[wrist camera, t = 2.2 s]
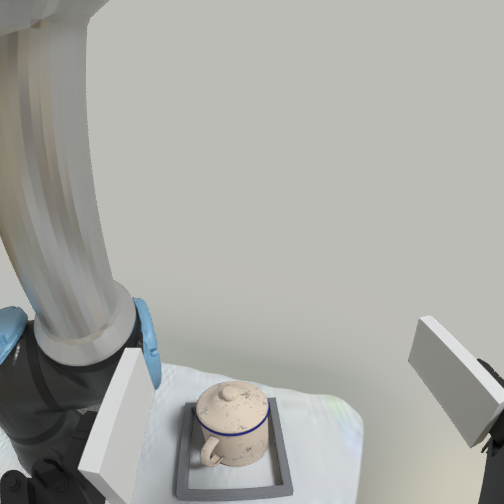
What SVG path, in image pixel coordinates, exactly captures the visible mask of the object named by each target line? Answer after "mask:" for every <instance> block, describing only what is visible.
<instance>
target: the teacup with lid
mask: <svg viewBox="0 0 504 504" xmlns="http://www.w3.org/2000/svg"><path fill="white" fill-rule="evenodd" d="M195 411H196V417H197V419H198V421H199V423H200V424H201V427H202V431H203V434H204V438H205V441H206V443H205V444H204V446H203V447H202V450H201V453H200V460H201V462H202V464H204V465H206V466H208V467H214V466H216V465H218V464H219V463H223V464H225V465H229V466H245V465H249V464H251V463H254V462H255V461H257V460H258V459H260V458H261V457H262V456H263V455H264V453H265V452H266V450H267V448H268V414H269V402H268V399H267V398H266V396H265V394H264V393H263V392H262V391H261V390H260V389H258V388H257V387H255V386H254V385H251V384H249V383H245V382H239V381H229V382H223V383H219V384H216V385H214V386H212V387H210V388H208V389H207V390H206V391H205V392H204V393H203V394H202V395H201V396H200V397H199V399H198V401H197V404H196V410H195ZM211 455H212V458H211V459H210V456H211Z"/></svg>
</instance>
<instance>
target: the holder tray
mask: <svg viewBox="0 0 504 504" xmlns="http://www.w3.org/2000/svg"><path fill="white" fill-rule="evenodd" d="M267 399H268V402H269V410H270V414H271V420H272V426H273V432H274V438H275V444H276V450H277V455H278V461H279V467H280V473H281V479H282V485H278V486H269V487H259V488H246V489H224V490H193V489H188V477H189V462H190V449H191V436H192V424H193V414H196V411H195V410H196V404H197V403H185V411H184V420H183V428H182V437H181V446H180V456H179V466H178V476H177V488H176V496H177V498H178V499H179V500H184V501H238V500H254V499H265V498H275V497H283V496H290V495H293V486H292V481H291V476H290V470H289V465H288V460H287V455H286V450H285V445H284V440H283V434H282V429H281V424H280V419H279V414H278V408H277V403H276V398H275V397H274V398H267Z"/></svg>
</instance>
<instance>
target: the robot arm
mask: <svg viewBox="0 0 504 504" xmlns="http://www.w3.org/2000/svg"><path fill="white" fill-rule="evenodd" d="M108 1H109V0H0V236H1V239H2V241H3V244H4V247H5V249H6V252H7V254H8V256H9V259H10V261H11V263H12V266H13V268H14V270H15V272H16V275H17V277H18V279H19V281H20V283H21V285H22V287H23V289H24V291H25V293H26V295H27V297H28V299H29V301H30V303H31V305H32V307H33V309H34V311H35V312H36V315H35V319H34V320H31V321H28V317H27V314H26V313H25V312H24V311H23V310H22V309H21V308H20V307H15V306H10V307H6V308H3V309H0V427H1V428H2V429H3V430H4V432H5V433H6V434H7V436H8V437H9V438H10V441H11V443H12V446H13V448H14V450H15V452H16V454H17V456H18V459H19V462H20V464H21V465H22V467H23V468H24V469H25V470H26V471H27V472H28V473H29V474H30V475H31V476H32V478H27V477H26V476H25V475H24V474H23V473H21V472H19V471H18V470H10V471H7V472H6V473H4V474H3V476H2V478H1V480H0V500H1V504H105V500H106V499H107V500H108V501H109V502H110V503H111V504H132V499H133V493H134V488H135V482H136V477H137V472H138V467H139V462H140V457H141V452H142V447H143V443H144V438H145V433H146V429H147V425H148V420H149V416H150V412H151V407H152V403H153V399H154V395H155V390H157V389H158V387H159V386H160V383H161V378H162V374H161V363H160V357H159V353H158V351H157V340H156V335H155V331H154V327H153V323H152V319H151V316H150V313H149V310H148V307H147V305H146V303H145V301H144V300H143V299H141V298H134V297H133V298H132V297H131V295H130V293H129V292H128V290H127V289H126V288H125V287H124V286H122V285H121V284H120V283H118V282H116V281H115V280H113V277H112V273H111V270H110V265H109V261H108V257H107V253H106V248H105V244H104V239H103V234H102V229H101V224H100V219H99V213H98V208H97V201H96V195H95V189H94V182H93V175H92V167H91V158H90V149H89V139H88V125H87V109H86V74H85V73H86V36H87V25H88V23H89V20H90V18H91V17H92V16H93V15H94V14H95V13H96V12H97V11H98V10H99V9H100V8H101V7H103V6H104V5H105V4H106V3H107V2H108ZM408 361H409V363H410V364H411V365H412V367H413V368H414V369H415V370H416V372H417V373H418V375H419V376H420V378H421V379H422V380H423V382H424V383H425V384H426V386H427V387H428V388H429V390H430V391H431V392H432V394H433V395H434V397H435V398H436V399H437V401H438V402H439V404H440V405H441V406H442V408H443V409H444V411H445V412H446V413H447V415H448V416H449V418H450V419H451V421H452V422H453V424H454V425H455V426H456V428H457V429H458V431H459V432H460V434H461V435H462V437H463V438H464V440H465V441H466V443H467V444H468V445H469V447H470V448H472V447H474V446H475V445H477V444H479V443H481V442H482V441H483V440H484V438H485V437H486V436H487V434H488V433H490V435H491V438H490V439H489V441H488V442H487V443H486V445H485V446H484V447H483V448H482V451H481V453H483V452H484V451H485V449H486V448H487V447H488V450H487V452H486V453H487V460H486V466H485V473H484V478H483V484H482V489H481V494H480V498H479V502H478V504H504V380H503V379H502V378H501V377H499V375H498V374H497V373H496V372H494V369H493V368H492V367H490V365H489V364H487V363H486V362H484V361H482V360H481V359H477V360H476V359H475V358H474V357H473V356H472V355H471V354H470V353H469V352H468V351H467V350H466V349H465V348H464V347H463V346H462V345H461V344H460V343H459V342H458V341H457V340H456V339H455V338H454V337H453V336H452V335H451V334H450V333H449V332H448V331H447V330H446V329H445V328H444V327H443V326H442V325H441V324H440V323H439V322H438V321H436V320H435V319H434V318H433V317H432V316H431V315H429V316H424V317H420V318H419V320H418V325H417V329H416V333H415V337H414V341H413V345H412V349H411V352H410V355H409V359H408ZM97 405H101V407H100V409H99V412H94V411H87V412H86V413H85V414H84V415H82V414H81V413H79V412H78V411H77V410H76V409H81V408H86V407H92V406H97Z"/></svg>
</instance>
